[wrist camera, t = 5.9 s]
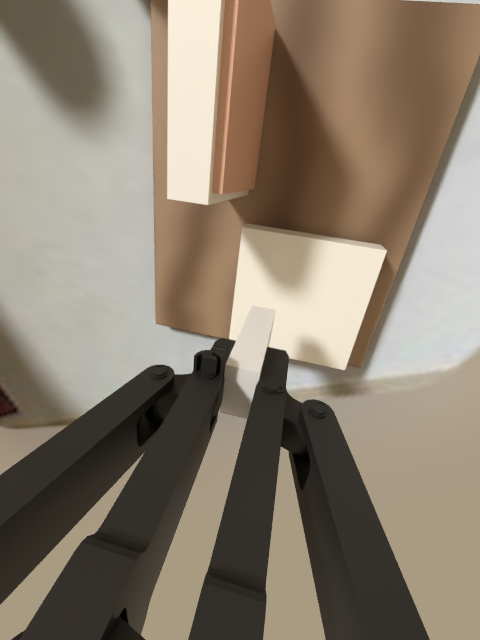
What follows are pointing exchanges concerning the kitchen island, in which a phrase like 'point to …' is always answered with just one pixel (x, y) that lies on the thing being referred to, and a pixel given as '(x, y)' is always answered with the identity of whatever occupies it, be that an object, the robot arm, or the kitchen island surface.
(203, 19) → the tile cream
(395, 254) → the board
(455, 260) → the kitchen island surface
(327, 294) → the square block
